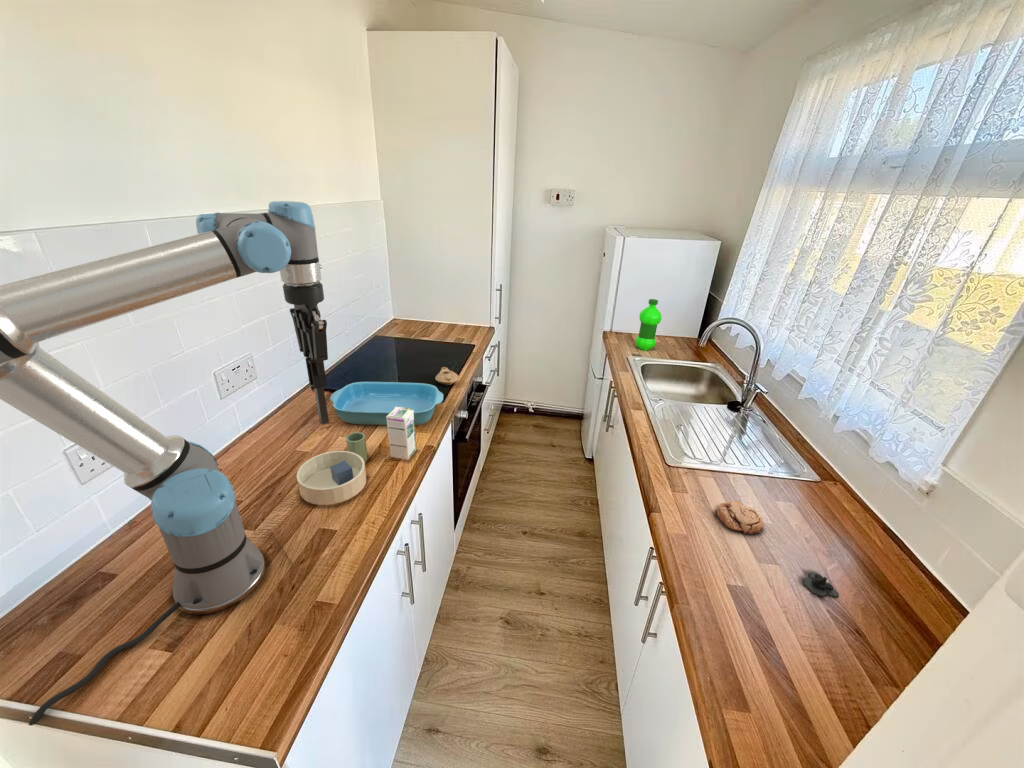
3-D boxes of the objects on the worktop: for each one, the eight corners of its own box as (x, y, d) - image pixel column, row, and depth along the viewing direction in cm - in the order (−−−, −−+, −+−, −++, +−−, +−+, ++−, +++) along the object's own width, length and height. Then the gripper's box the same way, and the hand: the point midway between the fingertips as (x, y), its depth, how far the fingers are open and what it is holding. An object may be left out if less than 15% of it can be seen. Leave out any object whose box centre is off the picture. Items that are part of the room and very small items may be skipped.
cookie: (764, 540, 103) (768, 530, 101) (717, 527, 106) (720, 518, 105) (758, 513, 111) (762, 504, 110) (714, 501, 114) (717, 493, 113)
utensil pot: (354, 468, 120) (351, 444, 116) (346, 460, 123) (342, 436, 119) (371, 461, 123) (368, 437, 120) (362, 453, 126) (359, 430, 123)
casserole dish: (445, 399, 159) (445, 381, 156) (441, 431, 139) (440, 412, 136) (343, 397, 156) (341, 380, 153) (323, 430, 136) (320, 410, 133)
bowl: (316, 517, 102) (313, 499, 100) (290, 484, 112) (286, 467, 110) (378, 487, 113) (376, 470, 111) (348, 459, 123) (346, 443, 121)
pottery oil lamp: (454, 373, 179) (460, 361, 174) (454, 394, 170) (460, 382, 166) (433, 367, 175) (439, 355, 171) (432, 388, 167) (439, 376, 163)
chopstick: (322, 425, 102) (311, 354, 95) (319, 422, 103) (308, 352, 96) (329, 422, 104) (318, 353, 96) (326, 420, 104) (315, 351, 97)
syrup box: (409, 462, 123) (406, 418, 117) (389, 458, 124) (385, 415, 118) (416, 451, 129) (414, 408, 122) (398, 448, 130) (394, 405, 123)
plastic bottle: (630, 345, 222) (639, 297, 211) (650, 345, 223) (659, 297, 212) (637, 352, 213) (647, 302, 202) (658, 352, 214) (668, 303, 203)
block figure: (799, 570, 92) (819, 564, 94) (796, 577, 93) (815, 572, 95) (825, 593, 87) (845, 587, 89) (821, 601, 88) (841, 595, 90)
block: (339, 486, 111) (337, 473, 110) (332, 479, 114) (330, 466, 112) (353, 479, 114) (352, 467, 112) (346, 472, 117) (344, 460, 115)
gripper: (336, 287, 87) (349, 391, 97) (305, 274, 96) (320, 370, 106) (298, 292, 82) (316, 401, 92) (269, 278, 91) (288, 378, 101)
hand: (318, 384), depth 99 cm, fingers closed on chopstick, 2 cm apart
